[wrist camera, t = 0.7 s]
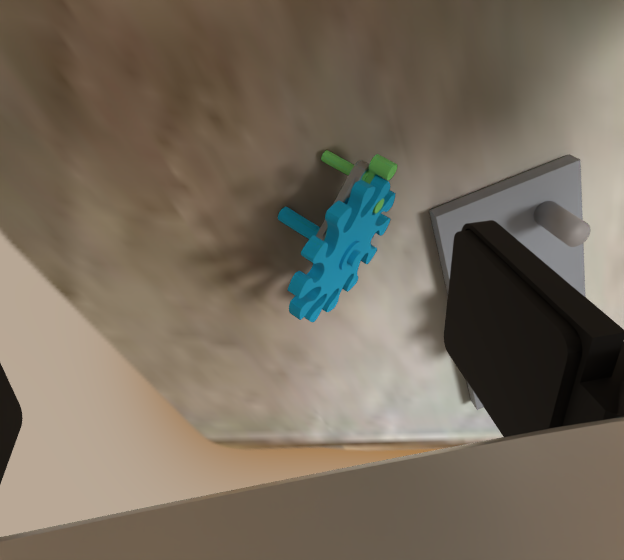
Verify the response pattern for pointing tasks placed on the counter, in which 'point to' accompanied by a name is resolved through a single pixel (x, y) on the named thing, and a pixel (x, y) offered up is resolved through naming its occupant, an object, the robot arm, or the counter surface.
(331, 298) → the gear
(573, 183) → the carrier plate
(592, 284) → the counter surface
